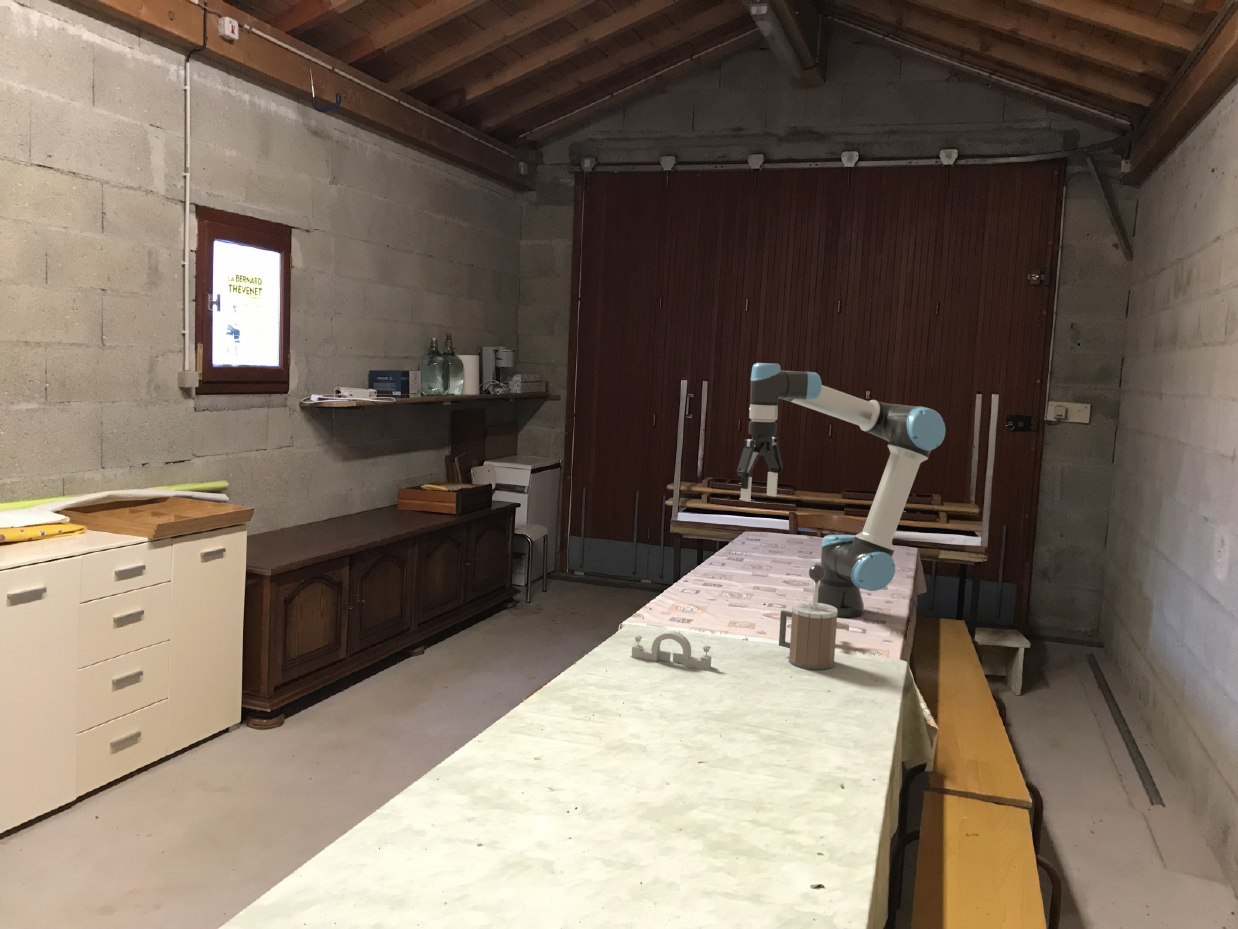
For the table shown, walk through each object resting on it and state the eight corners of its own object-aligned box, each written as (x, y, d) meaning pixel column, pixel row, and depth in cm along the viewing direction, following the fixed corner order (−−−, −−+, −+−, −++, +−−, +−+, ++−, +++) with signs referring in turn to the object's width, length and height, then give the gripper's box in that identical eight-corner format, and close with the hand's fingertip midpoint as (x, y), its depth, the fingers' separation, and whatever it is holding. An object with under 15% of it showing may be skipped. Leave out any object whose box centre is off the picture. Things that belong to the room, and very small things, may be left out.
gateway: (710, 668, 232) (712, 636, 231) (708, 671, 230) (709, 639, 229) (634, 656, 239) (636, 625, 238) (631, 659, 237) (632, 628, 236)
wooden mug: (790, 649, 247) (793, 597, 245) (841, 663, 238) (845, 608, 236) (768, 659, 239) (771, 604, 237) (820, 673, 230) (824, 617, 228)
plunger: (805, 644, 242) (810, 559, 240) (834, 651, 237) (839, 565, 235) (789, 651, 236) (795, 564, 234) (818, 658, 231) (824, 570, 229)
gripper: (774, 417, 269) (770, 492, 272) (725, 421, 250) (721, 500, 253) (798, 419, 264) (793, 495, 267) (750, 423, 245) (746, 504, 248)
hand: (758, 498), depth 260 cm, fingers open, 13 cm apart
